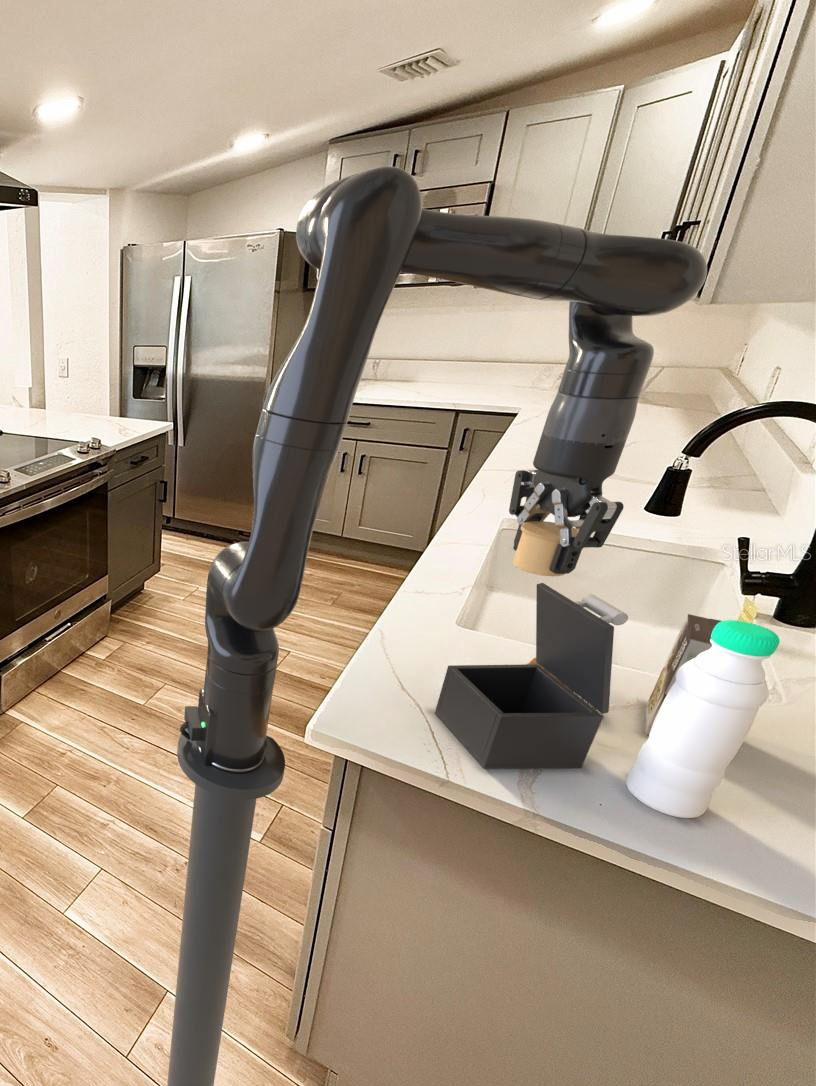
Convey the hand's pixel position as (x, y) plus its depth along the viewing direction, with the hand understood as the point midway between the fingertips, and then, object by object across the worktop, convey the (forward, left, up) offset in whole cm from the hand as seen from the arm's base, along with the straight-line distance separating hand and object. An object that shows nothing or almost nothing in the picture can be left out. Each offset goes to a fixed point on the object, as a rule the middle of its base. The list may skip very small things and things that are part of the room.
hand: (540, 561), depth 79 cm
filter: (0, 0, -1) cm, 1 cm away
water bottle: (+13, -13, -27) cm, 33 cm away
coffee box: (+26, 0, -27) cm, 38 cm away
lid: (+5, -2, -12) cm, 13 cm away
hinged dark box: (+1, -2, -27) cm, 27 cm away
